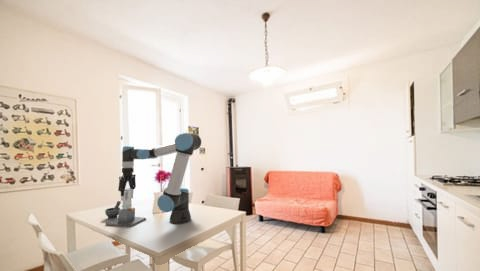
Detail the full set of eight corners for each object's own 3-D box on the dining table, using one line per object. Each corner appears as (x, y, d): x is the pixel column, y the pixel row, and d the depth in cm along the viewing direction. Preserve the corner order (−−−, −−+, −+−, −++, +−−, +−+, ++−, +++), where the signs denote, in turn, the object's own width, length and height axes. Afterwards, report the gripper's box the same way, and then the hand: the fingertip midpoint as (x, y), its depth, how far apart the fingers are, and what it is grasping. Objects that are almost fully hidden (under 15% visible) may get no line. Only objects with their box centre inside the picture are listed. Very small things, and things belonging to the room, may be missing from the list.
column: (131, 212, 154) (132, 188, 155) (127, 213, 150) (127, 189, 151) (125, 211, 155) (126, 188, 156) (121, 213, 151) (122, 189, 152)
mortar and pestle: (110, 221, 156) (110, 204, 157) (102, 219, 160) (102, 203, 161) (124, 216, 166) (124, 201, 167) (116, 215, 170) (116, 200, 171)
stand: (146, 219, 158) (146, 205, 158) (130, 227, 142) (130, 211, 143) (123, 218, 162) (123, 204, 163) (105, 225, 147) (106, 210, 147)
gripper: (133, 166, 165) (132, 196, 164) (112, 168, 146) (111, 202, 144) (141, 166, 164) (141, 196, 162) (121, 168, 144) (120, 202, 143)
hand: (127, 199), depth 153 cm, fingers open, 7 cm apart
